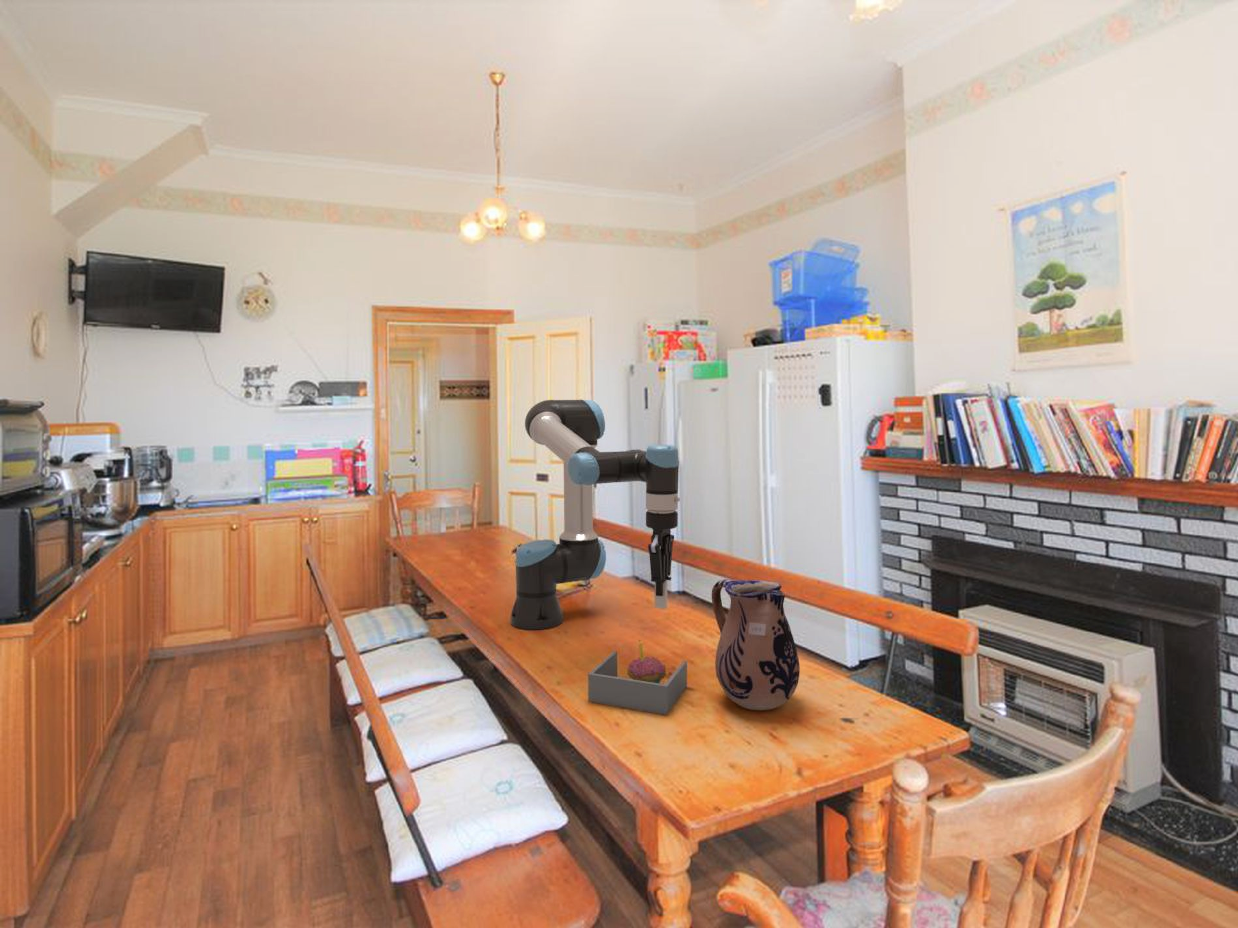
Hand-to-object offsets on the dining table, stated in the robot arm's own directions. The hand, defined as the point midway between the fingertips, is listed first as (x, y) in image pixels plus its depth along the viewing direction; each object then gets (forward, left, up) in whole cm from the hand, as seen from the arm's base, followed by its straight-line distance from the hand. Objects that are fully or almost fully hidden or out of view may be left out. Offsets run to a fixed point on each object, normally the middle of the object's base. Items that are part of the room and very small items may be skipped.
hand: (660, 607), depth 161 cm
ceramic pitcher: (+23, -10, -15) cm, 29 cm away
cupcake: (+1, -13, -15) cm, 20 cm away
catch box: (0, -16, -15) cm, 22 cm away
